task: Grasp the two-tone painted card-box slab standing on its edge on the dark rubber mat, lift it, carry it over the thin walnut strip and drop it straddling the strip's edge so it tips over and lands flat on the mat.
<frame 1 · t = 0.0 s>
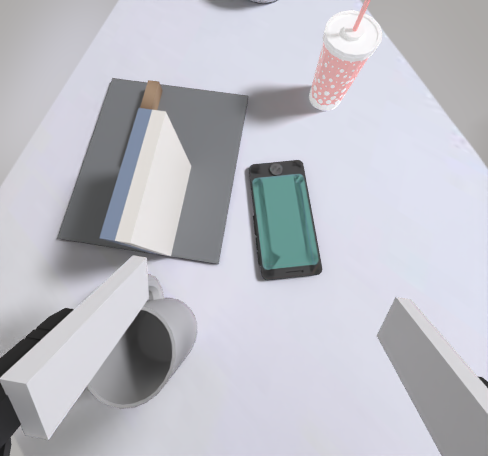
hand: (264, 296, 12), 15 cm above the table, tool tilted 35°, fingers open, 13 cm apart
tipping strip: (149, 128, 32), resting on mat
mat: (161, 163, 31), on the table
beverage cup: (324, 98, 33), on the table
smartphone: (281, 218, 30), on the table
cup: (166, 317, 27), on the table
deck: (171, 207, 29), point 1 cm above the table, touching mat
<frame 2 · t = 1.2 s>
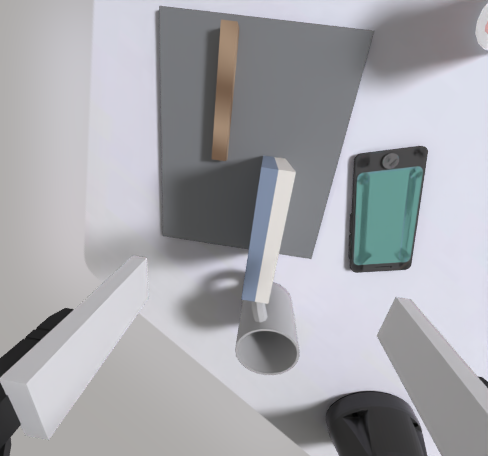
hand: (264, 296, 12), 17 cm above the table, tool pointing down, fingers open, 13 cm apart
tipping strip: (226, 100, 24), resting on mat
mat: (248, 153, 26), on the table
smartphone: (379, 213, 28), on the table
cup: (265, 291, 34), on the table
deck: (265, 207, 28), point 1 cm above the table, touching mat
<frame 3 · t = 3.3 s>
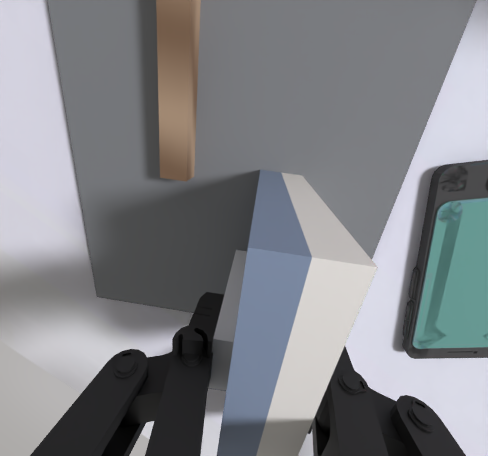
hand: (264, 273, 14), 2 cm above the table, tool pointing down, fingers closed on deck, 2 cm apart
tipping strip: (187, 62, 12), resting on mat
mat: (232, 164, 14), on the table
smartphone: (463, 266, 16), on the table
deck: (265, 258, 16), point 1 cm above the table, touching gripper
when the fingers open (8 cm above the table, at t = 6.3 s): deck drops 4 cm and tips over, resting on mat.
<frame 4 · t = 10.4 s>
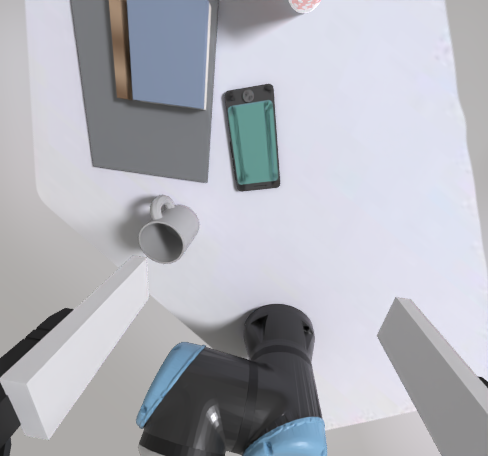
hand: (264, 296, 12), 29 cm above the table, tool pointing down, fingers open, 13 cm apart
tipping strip: (126, 53, 33), resting on mat
mat: (148, 95, 35), on the table
smartphone: (253, 142, 37), on the table
cup: (179, 215, 42), on the table
deck: (134, 51, 31), point 2 cm above the table, tilted 90°, touching mat
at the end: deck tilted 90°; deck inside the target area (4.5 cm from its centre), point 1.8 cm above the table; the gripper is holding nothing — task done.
